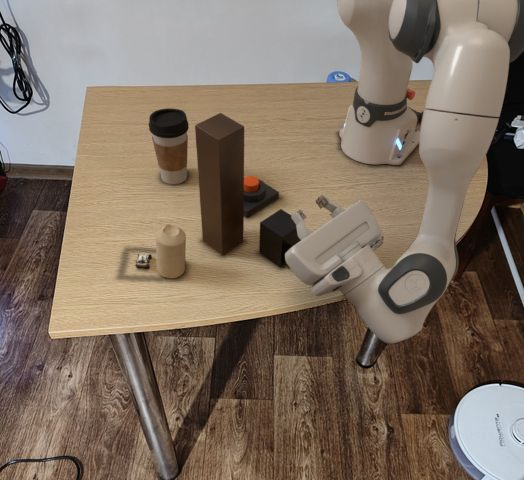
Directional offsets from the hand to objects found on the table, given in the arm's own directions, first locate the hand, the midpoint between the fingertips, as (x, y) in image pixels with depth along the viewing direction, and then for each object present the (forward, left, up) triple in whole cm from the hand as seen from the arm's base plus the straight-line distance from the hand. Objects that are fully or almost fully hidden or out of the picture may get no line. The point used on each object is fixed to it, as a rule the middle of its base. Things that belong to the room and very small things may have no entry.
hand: (307, 204), depth 99 cm
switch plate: (-8, -22, -15) cm, 28 cm away
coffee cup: (-1, -40, -16) cm, 43 cm away
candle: (+19, -17, -15) cm, 30 cm away
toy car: (+22, -22, -16) cm, 35 cm away
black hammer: (0, -1, -15) cm, 16 cm away
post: (+6, -16, -15) cm, 23 cm away
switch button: (-8, -22, -12) cm, 27 cm away
